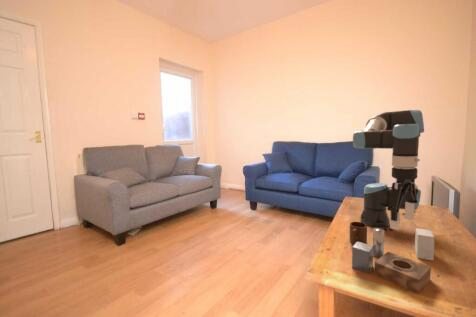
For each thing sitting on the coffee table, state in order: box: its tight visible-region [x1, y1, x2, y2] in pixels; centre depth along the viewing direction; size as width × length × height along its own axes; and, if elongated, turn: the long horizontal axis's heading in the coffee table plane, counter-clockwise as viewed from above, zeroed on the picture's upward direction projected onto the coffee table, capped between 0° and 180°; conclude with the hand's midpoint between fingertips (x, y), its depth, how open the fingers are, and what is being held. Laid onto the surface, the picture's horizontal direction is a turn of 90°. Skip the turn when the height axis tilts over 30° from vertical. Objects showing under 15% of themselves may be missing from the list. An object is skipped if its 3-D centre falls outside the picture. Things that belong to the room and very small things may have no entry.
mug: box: [349, 221, 368, 246], centre depth 111 cm, size 12×8×9 cm, turn 139°
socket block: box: [373, 251, 432, 294], centre depth 86 cm, size 14×12×5 cm
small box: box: [414, 227, 435, 261], centre depth 100 cm, size 8×6×10 cm
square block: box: [351, 242, 374, 275], centre depth 93 cm, size 6×6×9 cm
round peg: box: [372, 227, 385, 259], centre depth 101 cm, size 4×4×12 cm
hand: (402, 223), depth 85 cm, fingers open, 13 cm apart
